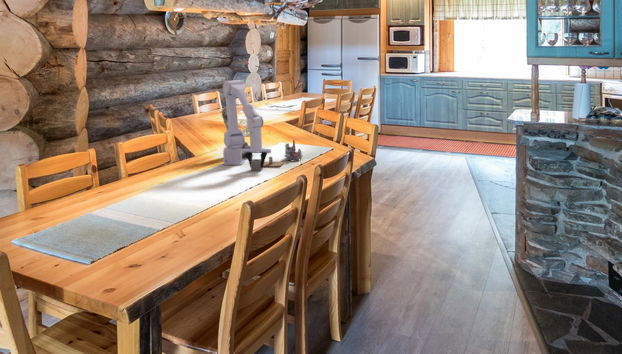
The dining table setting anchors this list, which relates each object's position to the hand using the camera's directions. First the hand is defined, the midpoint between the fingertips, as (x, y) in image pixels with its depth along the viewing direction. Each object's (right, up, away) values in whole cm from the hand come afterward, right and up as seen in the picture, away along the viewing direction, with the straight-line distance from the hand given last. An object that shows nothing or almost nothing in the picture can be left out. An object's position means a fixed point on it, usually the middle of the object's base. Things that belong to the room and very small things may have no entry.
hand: (256, 167), depth 286 cm
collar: (0, -1, 0) cm, 1 cm away
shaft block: (+6, +1, +10) cm, 12 cm away
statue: (-14, +7, +36) cm, 39 cm away
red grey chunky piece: (+17, +4, +25) cm, 31 cm away
